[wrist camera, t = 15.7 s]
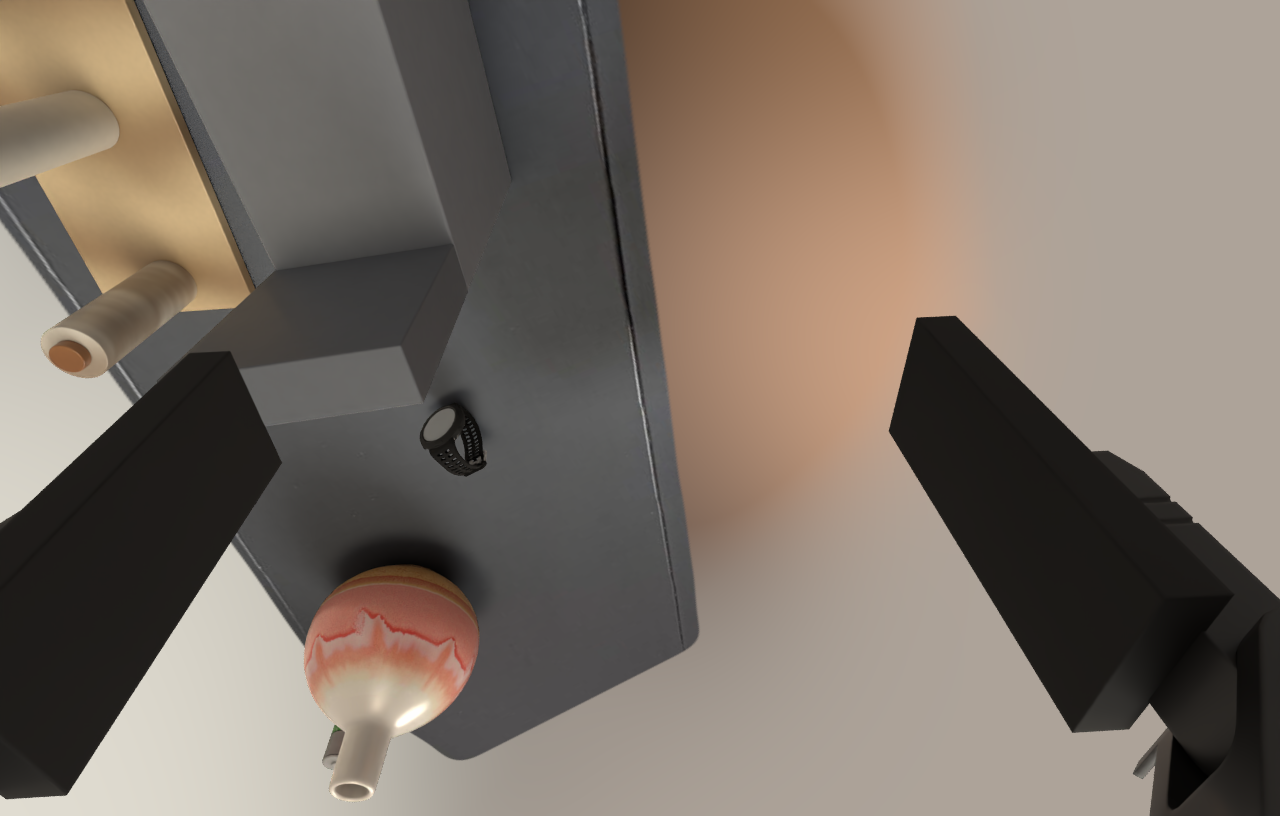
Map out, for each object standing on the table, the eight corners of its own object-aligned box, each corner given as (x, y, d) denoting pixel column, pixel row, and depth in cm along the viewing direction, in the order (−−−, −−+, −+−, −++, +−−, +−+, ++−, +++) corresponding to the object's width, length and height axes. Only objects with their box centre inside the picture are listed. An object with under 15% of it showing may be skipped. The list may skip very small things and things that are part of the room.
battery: (348, 672, 65) (315, 768, 57) (361, 660, 64) (328, 756, 56) (373, 681, 66) (344, 776, 58) (386, 669, 65) (357, 764, 57)
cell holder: (-139, -154, 28) (-454, -209, 20) (65, -165, 29) (-161, -223, 20) (122, 310, 42) (-1, 398, 33) (261, 301, 42) (175, 386, 33)
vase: (508, 619, 61) (482, 818, 47) (376, 646, 63) (310, 849, 48) (453, 521, 54) (400, 723, 39) (303, 553, 55) (199, 762, 40)
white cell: (56, 79, 33) (-111, 112, 25) (121, 106, 34) (-21, 146, 26) (56, 134, 35) (-102, 181, 27) (119, 158, 36) (-17, 212, 28)
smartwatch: (477, 389, 47) (466, 429, 42) (494, 444, 49) (485, 486, 45) (422, 396, 47) (405, 437, 42) (442, 450, 50) (428, 494, 45)
